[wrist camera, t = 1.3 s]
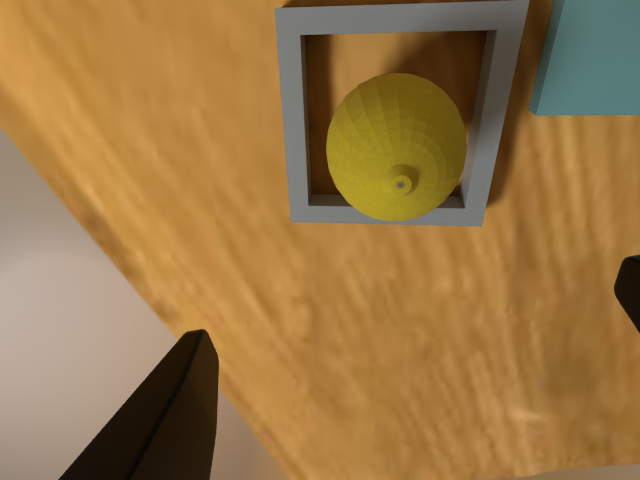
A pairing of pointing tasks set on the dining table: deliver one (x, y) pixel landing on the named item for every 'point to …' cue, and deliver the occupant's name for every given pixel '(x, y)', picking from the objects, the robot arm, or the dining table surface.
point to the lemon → (396, 147)
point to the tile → (590, 60)
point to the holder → (493, 16)
